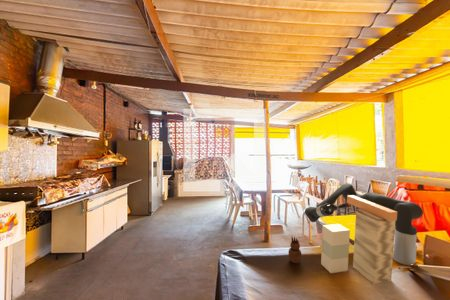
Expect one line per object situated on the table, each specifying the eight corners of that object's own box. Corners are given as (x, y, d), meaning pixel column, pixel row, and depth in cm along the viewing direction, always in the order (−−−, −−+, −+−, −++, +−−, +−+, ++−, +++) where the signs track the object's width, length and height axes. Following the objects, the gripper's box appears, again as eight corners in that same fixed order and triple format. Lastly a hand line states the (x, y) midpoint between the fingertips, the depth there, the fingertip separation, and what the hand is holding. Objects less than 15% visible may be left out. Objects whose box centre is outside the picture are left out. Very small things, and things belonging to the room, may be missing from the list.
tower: (336, 261, 123) (338, 223, 121) (347, 270, 116) (349, 230, 113) (321, 263, 121) (322, 225, 119) (330, 273, 113) (332, 232, 111)
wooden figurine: (287, 262, 123) (288, 236, 121) (289, 257, 128) (290, 232, 126) (300, 266, 119) (300, 239, 118) (301, 260, 124) (302, 235, 123)
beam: (353, 202, 127) (353, 195, 126) (396, 220, 101) (397, 211, 101) (346, 202, 126) (347, 195, 125) (389, 221, 100) (390, 212, 100)
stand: (368, 264, 121) (372, 207, 118) (391, 280, 108) (395, 217, 105) (352, 267, 118) (356, 209, 115) (373, 283, 106) (378, 218, 103)
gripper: (335, 215, 148) (352, 210, 133) (316, 217, 144) (332, 212, 130) (332, 203, 151) (348, 198, 136) (313, 205, 148) (328, 200, 133)
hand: (340, 205), depth 133 cm, fingers open, 8 cm apart
